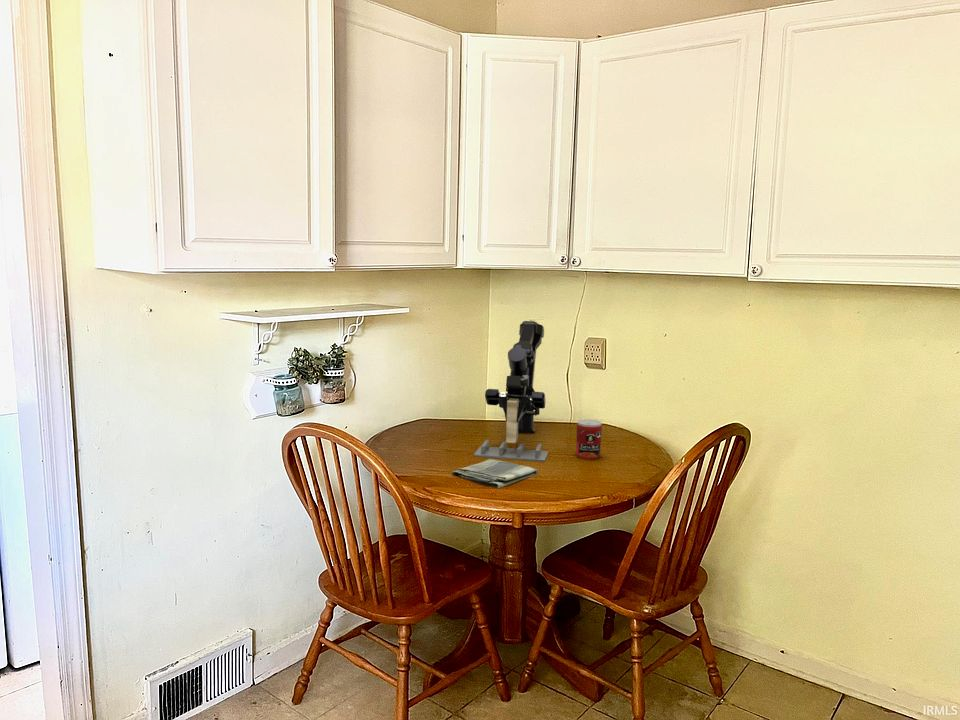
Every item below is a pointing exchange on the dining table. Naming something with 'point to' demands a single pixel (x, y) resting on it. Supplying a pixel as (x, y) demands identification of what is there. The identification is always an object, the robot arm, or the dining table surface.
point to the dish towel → (495, 473)
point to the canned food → (588, 439)
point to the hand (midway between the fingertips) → (511, 421)
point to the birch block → (512, 420)
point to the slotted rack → (511, 452)
